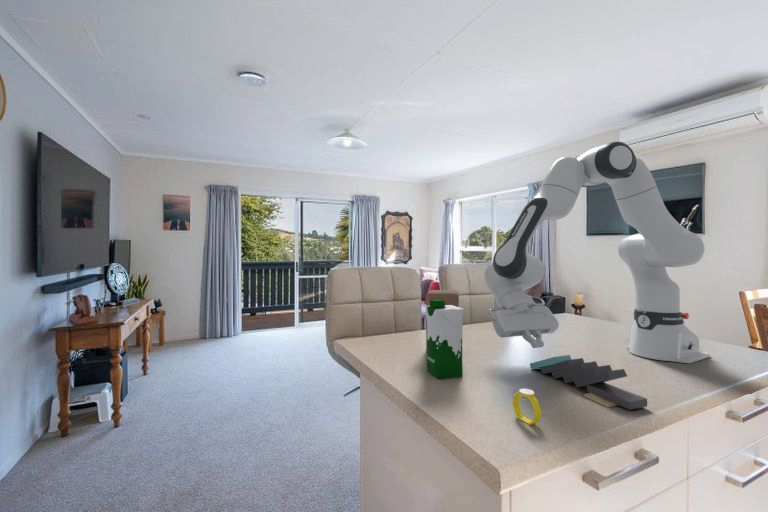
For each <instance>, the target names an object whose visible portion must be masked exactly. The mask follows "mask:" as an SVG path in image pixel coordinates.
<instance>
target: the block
mask: <svg viewBox="0 0 768 512" xmlns="http://www.w3.org/2000/svg"><path fill="white" fill-rule="evenodd" d="M425 297H426V298H425V301H426V302H425V304H426V305H425V307H426V306H430V299H444V300H445V305H453V306H456V307H459V303H460V302H459V300H460V299H459V291H458V290H451V289H450V290H448V289H445V290H444V289H431V290H428V292H427V293H426V295H425ZM459 308H460V307H459ZM425 317H426V318H425V319H426V320H425V322H426V323H425V324H426V326H425V331H426V332H425V339H426V341H425V342H426V343H425V344H426V345H425V346H426V348H425V350H426V351H425V352H426V354H427V316H426V315H425Z"/></svg>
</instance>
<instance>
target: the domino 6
mask: <svg viewBox="0 0 768 512" xmlns="http://www.w3.org/2000/svg"><path fill="white" fill-rule="evenodd" d="M586 387H587V389H586V390H587V393H592V394H594V395H596V396H599V397H601V398H603V399H606V400H608V401H610V402H613V403H615V404H617V405H618V406H620V407H623V408H625V409H627V410H629V411H631V410H634V409H635V410H636V409H640V408H645V407H648V398H646V397H643V396H642V395H638V394H635V393H633V392H630V391H629V390H628V391H627V390H625V389H623V388H620V387H617V386H614V385H613V384H610V383H607V382H602V383H596V384H589V385H587V386H586Z"/></svg>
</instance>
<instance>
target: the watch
mask: <svg viewBox="0 0 768 512" xmlns="http://www.w3.org/2000/svg"><path fill="white" fill-rule="evenodd" d="M521 397H523V398H527V399H528V400H529V401H530V403H531V405H532V408H533V413H534V414H533V415H534V416H533V419H532V420H531V419H530V418H527V417H525V416H524V413H523V412H522V410H521V406H520V398H521ZM512 406H513V411H514V413H515V415H516V417H517V418H518V419H519V420H520V421H522V422H524V423H525V424H527V425H528V426H532V425H536V424H538V423H539V422H540V419H541V416H542V409H541V406H540V402H539V401H538V399H537V397H536V396H535V392H534V390H532V389H529V388H520V389H519V391H517V392H515V394H514V396H513V398H512Z"/></svg>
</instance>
